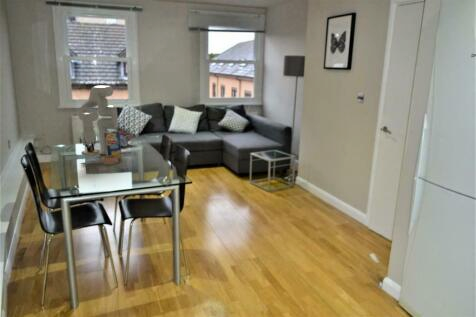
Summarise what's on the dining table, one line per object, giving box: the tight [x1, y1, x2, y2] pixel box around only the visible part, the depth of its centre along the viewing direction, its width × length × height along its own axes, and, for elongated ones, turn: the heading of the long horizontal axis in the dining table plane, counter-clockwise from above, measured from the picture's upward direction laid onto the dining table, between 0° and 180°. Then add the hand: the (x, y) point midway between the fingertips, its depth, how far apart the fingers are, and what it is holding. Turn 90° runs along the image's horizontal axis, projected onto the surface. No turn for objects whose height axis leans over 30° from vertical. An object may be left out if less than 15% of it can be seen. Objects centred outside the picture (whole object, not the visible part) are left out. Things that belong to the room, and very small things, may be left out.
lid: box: [81, 144, 101, 156], centre depth 298 cm, size 14×14×6 cm
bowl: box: [100, 155, 119, 165], centre depth 300 cm, size 12×12×5 cm
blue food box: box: [105, 131, 122, 159], centre depth 315 cm, size 7×11×22 cm, turn 121°
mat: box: [80, 159, 102, 167], centre depth 299 cm, size 13×13×1 cm
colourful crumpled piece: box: [117, 129, 135, 148], centre depth 367 cm, size 20×22×18 cm
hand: (90, 151), depth 298 cm, fingers closed on lid, 3 cm apart
